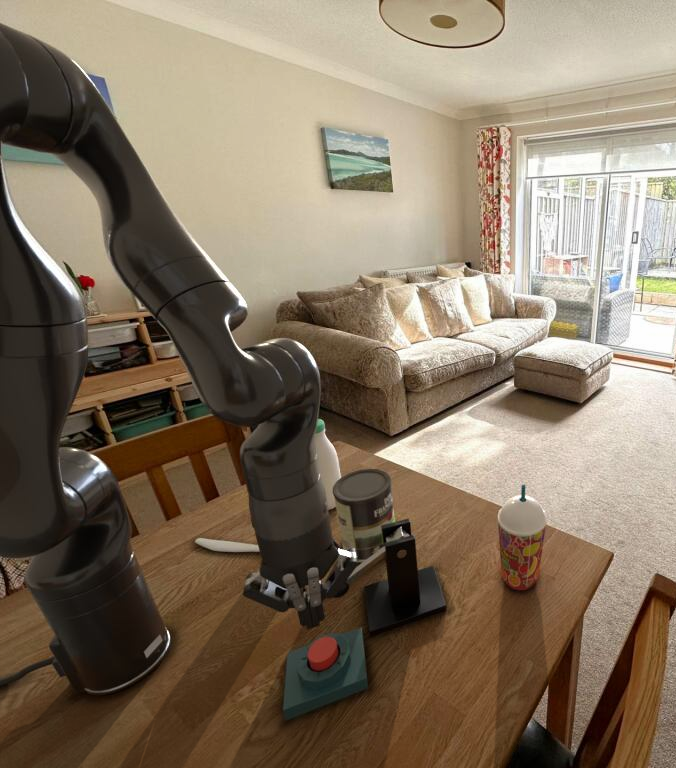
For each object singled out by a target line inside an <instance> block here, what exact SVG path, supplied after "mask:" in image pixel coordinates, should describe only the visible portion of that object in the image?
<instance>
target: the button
mask: <svg viewBox="0 0 676 768" xmlns="http://www.w3.org/2000/svg"><path fill="white" fill-rule="evenodd" d="M337 657H338V648H337V643H336V640H335V639H334V638H332V637H323V638H320V639H318V640H317V641H315V642H314V643H313V644H312V645H311V647H310V648H309V651H308V659H309V663H310V667H311V668H312V669H313V670H315V671H323V670H325V669H327V668H329V667H330V666H332V665H333V664H334V662H335V661H336V659H337Z"/></svg>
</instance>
